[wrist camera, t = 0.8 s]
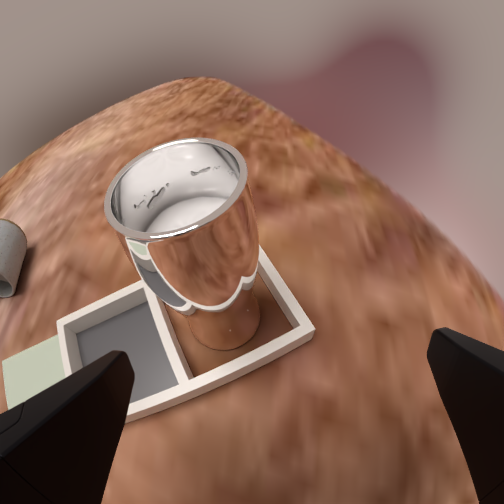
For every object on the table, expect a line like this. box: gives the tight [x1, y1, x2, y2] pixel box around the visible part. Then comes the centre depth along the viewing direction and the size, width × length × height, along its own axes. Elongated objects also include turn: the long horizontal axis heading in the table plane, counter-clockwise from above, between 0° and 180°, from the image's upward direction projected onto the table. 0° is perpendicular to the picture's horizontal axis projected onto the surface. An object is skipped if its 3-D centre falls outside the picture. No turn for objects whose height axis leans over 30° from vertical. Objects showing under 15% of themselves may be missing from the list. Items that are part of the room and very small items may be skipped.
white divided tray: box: [2, 245, 315, 423], centre depth 21 cm, size 32×11×2 cm, turn 117°
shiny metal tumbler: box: [104, 138, 260, 350], centre depth 18 cm, size 7×7×15 cm
